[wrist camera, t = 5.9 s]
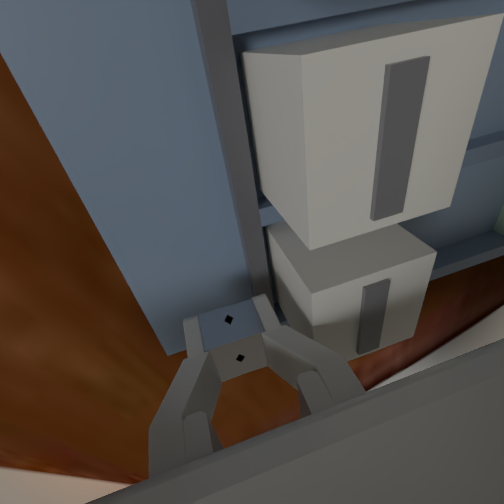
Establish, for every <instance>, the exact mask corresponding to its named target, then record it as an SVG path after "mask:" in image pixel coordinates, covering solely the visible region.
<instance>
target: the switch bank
mask: <svg viewBox="0 0 504 504" xmlns="http://www.w3.org/2000/svg"><path fill="white" fill-rule="evenodd" d="M497 13H504V0H0V53H1V55H2V56H3V58H4V60H5V62H6V64H7V65H8V67H9V69H10V71H11V73H12V74H13V76H14V78H15V80H16V82H17V84H18V85H19V87H20V89H21V91H22V93H23V94H24V96H25V98H26V100H27V102H28V103H29V105H30V107H31V109H32V111H33V113H34V114H35V116H36V118H37V120H38V122H39V123H40V125H41V127H42V129H43V131H44V132H45V134H46V136H47V138H48V140H49V142H50V143H51V145H52V147H53V149H54V151H55V152H56V154H57V156H58V158H59V160H60V161H61V163H62V165H63V167H64V169H65V171H66V172H67V174H68V176H69V178H70V180H71V181H72V183H73V185H74V187H75V189H76V190H77V192H78V194H79V196H80V198H81V200H82V201H83V203H84V205H85V207H86V209H87V210H88V212H89V214H90V216H91V218H92V220H93V221H94V223H95V225H96V227H97V229H98V230H99V232H100V234H101V236H102V238H103V239H104V241H105V243H106V245H107V247H108V249H109V250H110V252H111V254H112V256H113V258H114V259H115V261H116V263H117V265H118V267H119V268H120V270H121V272H122V274H123V276H124V278H125V279H126V281H127V283H128V285H129V287H130V288H131V290H132V292H133V294H134V296H135V297H136V299H137V301H138V303H139V305H140V307H141V308H142V310H143V312H144V314H145V316H146V317H147V319H148V321H149V323H150V325H151V326H152V328H153V330H154V332H155V334H156V336H157V337H158V339H159V341H160V343H161V345H162V346H163V348H164V350H165V352H166V354H167V355H168V356H169V355H172V354H175V353H178V352H180V351H183V350H186V349H187V348H186V341H185V333H184V326H183V320H184V319H186V318H189V317H193V316H196V315H198V314H202V313H205V312H208V311H212V310H215V309H219V308H222V307H225V306H228V305H231V304H234V303H237V302H240V301H243V300H246V299H249V298H252V297H255V296H258V295H261V294H266V296H267V298H268V300H269V302H270V304H271V306H272V308H273V310H274V312H275V314H276V316H277V318H278V320H279V322H280V324H281V326H283V325H287V326H288V327H290V325H289V323H288V321H287V319H286V317H285V315H284V313H283V312H282V310H281V308H280V306H279V304H278V302H277V300H276V298H275V291H274V284H273V277H272V271H271V264H270V257H269V250H268V244H267V237H266V230H265V226H267V225H270V224H274V223H277V222H281V221H284V218H283V217H282V216H281V215H280V213H279V212H278V211H277V210H276V209H275V207H274V206H273V205H272V204H271V202H270V201H269V200H268V199H267V197H266V196H265V195H264V194H263V193H262V191H261V190H260V189H259V183H258V176H257V169H256V162H255V155H254V149H253V142H252V135H251V128H250V122H249V115H248V108H247V101H246V94H245V88H244V81H243V74H242V67H241V61H240V54H239V52H243V51H248V50H253V49H258V48H263V47H268V46H273V45H278V44H283V43H288V42H293V41H298V40H303V39H308V38H313V37H318V36H323V35H328V34H333V33H338V32H343V31H347V30H352V29H357V28H362V27H367V26H373V25H383V24H393V23H404V22H414V21H424V20H435V19H445V18H455V17H466V16H476V15H486V14H497ZM397 224H398V225H400V226H401V227H402V228H404V229H405V230H407V231H408V232H410V233H411V234H413V235H414V236H415V237H417V238H418V239H420V240H421V241H423V242H424V243H425V244H427V245H428V246H430V247H431V248H433V249H434V250H435V251H437V254H436V258H435V262H434V265H433V269H432V272H431V276H430V279H429V281H431V280H434V279H437V278H440V277H443V276H446V275H448V274H451V273H454V272H457V271H460V270H463V269H465V268H468V267H471V266H474V265H477V264H480V263H483V262H485V261H488V260H491V259H494V258H497V257H500V256H503V255H504V17H503V21H502V24H501V28H500V31H499V35H498V38H497V42H496V45H495V49H494V52H493V56H492V60H491V63H490V67H489V70H488V74H487V77H486V81H485V84H484V88H483V91H482V95H481V98H480V102H479V106H478V109H477V113H476V116H475V120H474V123H473V127H472V130H471V134H470V137H469V141H468V145H467V148H466V152H465V155H464V159H463V162H462V166H461V169H460V173H459V176H458V180H457V184H456V187H455V191H454V194H453V198H452V201H451V205H450V207H447V208H444V209H441V210H438V211H434V212H431V213H428V214H425V215H422V216H418V217H415V218H412V219H409V220H406V221H402V222H399V223H397ZM290 328H291V327H290Z"/></svg>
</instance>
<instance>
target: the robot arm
mask: <svg viewBox="0 0 504 504" xmlns="http://www.w3.org/2000/svg"><path fill="white" fill-rule="evenodd" d="M183 326H184V333H185V341H186V348H187V355H188V358H186V359H184V360H183V362H182V364H181V366H180V368H179V370H178V372H177V374H176V376H175V378H174V380H173V381H172V383H171V385H170V387H169V389H168V391H167V393H166V395H165V397H164V399H163V401H162V403H161V405H160V407H159V409H158V411H157V413H156V415H155V417H154V419H153V421H152V423H151V425H150V427H149V479H146V480H144V481H141V482H139V483H136V484H134V485H131V486H129V487H126V488H124V489H121V490H118V491H116V492H113V493H111V494H108V495H106V496H103V497H101V498H98V499H96V500H93V501H91V502H88V503H85V504H504V339H501V340H499V341H496V342H493V343H491V344H488V345H486V346H483V347H481V348H478V349H476V350H473V351H471V352H468V353H466V354H463V355H461V356H458V357H456V358H453V359H450V360H448V361H445V362H443V363H440V364H438V365H435V366H433V367H430V368H428V369H425V370H423V371H420V372H418V373H415V374H413V375H410V376H408V377H405V378H402V379H400V380H397V381H395V382H392V383H390V384H387V385H385V386H382V387H380V388H377V389H375V390H372V391H369V392H367V393H366V391H365V390H364V388H363V387H362V385H361V383H360V382H359V380H358V379H357V377H356V376H355V374H354V373H353V371H352V369H351V368H350V366H349V365H348V363H347V362H346V360H345V359H344V357H343V356H341V355H339V354H337V353H335V352H334V351H332V350H330V349H328V348H326V347H325V346H323V345H321V344H319V343H317V342H316V341H314V340H312V339H310V338H308V337H306V336H305V335H303V334H301V333H299V332H297V331H296V330H294V329H292V328H290V327H288V326H287V325H283V326H281V324H280V322H279V320H278V318H277V316H276V314H275V312H274V310H273V308H272V306H271V304H270V302H269V300H268V298H267V296H266V294H261V295H258V296H255V297H252V298H249V299H246V300H243V301H240V302H237V303H234V304H231V305H228V306H225V307H222V308H219V309H215V310H212V311H208V312H205V313H202V314H198V315H196V316H193V317H189V318H186V319H184V320H183ZM266 366H268V367H269V368H270V369H272V370H273V371H274V372H275V373H277V374H278V375H279V376H280V377H282V378H283V379H284V380H285V381H287V382H288V383H289V384H290V385H292V386H293V387H294V388H295V389H297V390H298V397H299V407H300V417H301V419H298V420H296V421H293V422H291V423H288V424H286V425H283V426H280V427H278V428H275V429H273V430H270V431H268V432H265V433H263V434H260V435H258V436H255V437H253V438H250V439H248V440H245V441H242V442H240V443H237V444H235V445H232V446H230V447H227V448H225V449H224V448H223V446H222V444H221V442H220V440H219V438H218V436H217V434H216V432H215V430H214V428H213V426H212V424H211V420H212V417H213V413H214V410H215V406H216V403H217V400H218V396H219V393H220V390H221V386H222V382H224V381H227V380H229V379H232V378H234V377H237V376H239V375H242V374H244V373H248V372H251V371H254V370H257V369H260V368H263V367H266Z"/></svg>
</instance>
